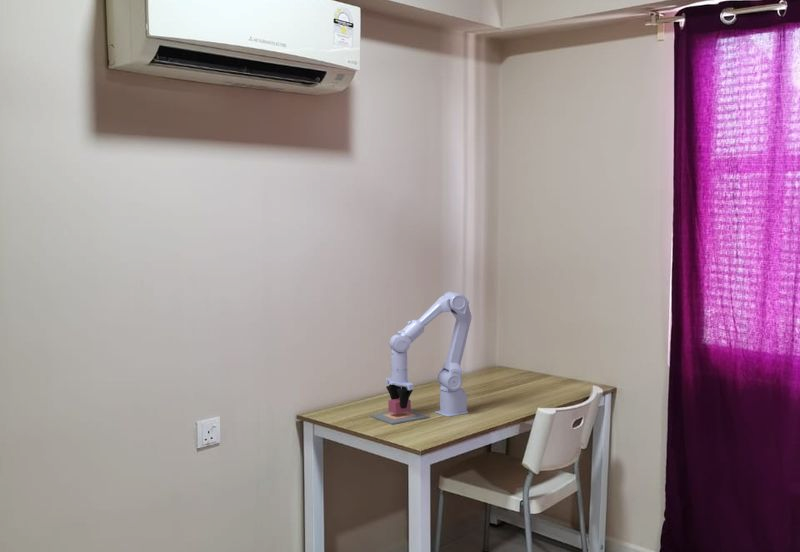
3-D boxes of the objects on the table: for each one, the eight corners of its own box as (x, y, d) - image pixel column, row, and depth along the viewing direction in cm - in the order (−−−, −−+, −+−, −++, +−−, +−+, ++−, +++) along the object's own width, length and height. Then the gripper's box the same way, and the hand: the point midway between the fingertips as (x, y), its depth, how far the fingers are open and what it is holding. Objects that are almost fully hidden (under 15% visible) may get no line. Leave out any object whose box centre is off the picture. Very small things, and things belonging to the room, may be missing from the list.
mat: (406, 410, 295) (406, 407, 295) (429, 417, 284) (429, 415, 284) (370, 416, 286) (370, 414, 286) (392, 424, 275) (392, 422, 275)
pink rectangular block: (388, 411, 285) (388, 400, 285) (403, 408, 289) (403, 397, 288) (395, 413, 281) (395, 402, 281) (410, 411, 285) (410, 400, 285)
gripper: (378, 367, 287) (378, 404, 288) (401, 373, 275) (402, 412, 277) (394, 364, 291) (395, 401, 292) (418, 371, 280) (418, 409, 281)
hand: (399, 406), depth 285 cm, fingers closed on pink rectangular block, 4 cm apart
